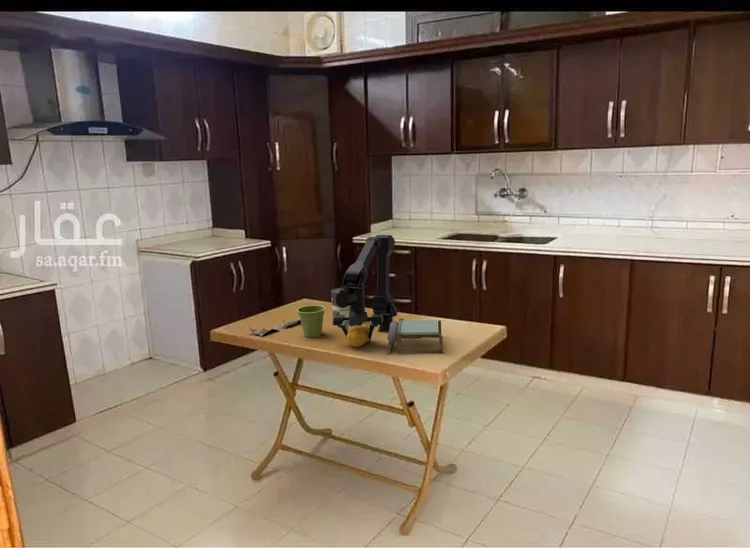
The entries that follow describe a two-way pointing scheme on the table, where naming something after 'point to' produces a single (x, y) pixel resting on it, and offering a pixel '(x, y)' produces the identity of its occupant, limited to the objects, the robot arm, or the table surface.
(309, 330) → the plant pot
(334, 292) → the coffee can
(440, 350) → the trapdoor frame
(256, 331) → the crumpled grey wrapper
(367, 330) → the potato
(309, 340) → the table surface
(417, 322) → the trapdoor
